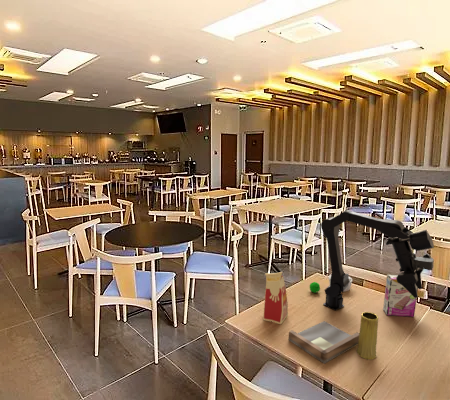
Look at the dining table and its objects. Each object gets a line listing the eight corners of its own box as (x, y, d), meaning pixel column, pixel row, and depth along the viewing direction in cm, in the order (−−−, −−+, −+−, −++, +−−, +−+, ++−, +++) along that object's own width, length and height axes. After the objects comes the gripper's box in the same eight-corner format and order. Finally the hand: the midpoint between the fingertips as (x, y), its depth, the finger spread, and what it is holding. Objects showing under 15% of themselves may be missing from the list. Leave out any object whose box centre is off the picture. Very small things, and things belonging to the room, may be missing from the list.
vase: (375, 350, 116) (378, 312, 113) (377, 361, 110) (380, 321, 108) (356, 347, 118) (359, 309, 115) (357, 357, 112) (360, 318, 110)
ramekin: (346, 295, 158) (346, 284, 157) (324, 288, 165) (324, 278, 164) (355, 287, 166) (356, 277, 165) (333, 281, 173) (334, 271, 172)
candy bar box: (387, 316, 139) (390, 279, 136) (382, 310, 144) (386, 274, 141) (415, 317, 138) (419, 280, 135) (409, 311, 143) (413, 275, 140)
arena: (288, 340, 122) (288, 331, 121) (324, 323, 133) (324, 315, 133) (324, 363, 109) (324, 354, 108) (360, 342, 120) (361, 334, 120)
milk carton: (287, 314, 140) (289, 269, 137) (282, 324, 132) (283, 277, 128) (267, 309, 144) (268, 265, 140) (260, 319, 136) (261, 273, 132)
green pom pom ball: (307, 292, 160) (308, 283, 159) (311, 288, 164) (311, 279, 163) (318, 295, 158) (318, 285, 157) (321, 291, 162) (321, 282, 161)
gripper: (423, 255, 114) (439, 300, 113) (430, 243, 129) (445, 282, 127) (389, 261, 121) (404, 303, 120) (400, 248, 136) (414, 285, 134)
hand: (418, 293), depth 125 cm, fingers open, 9 cm apart
